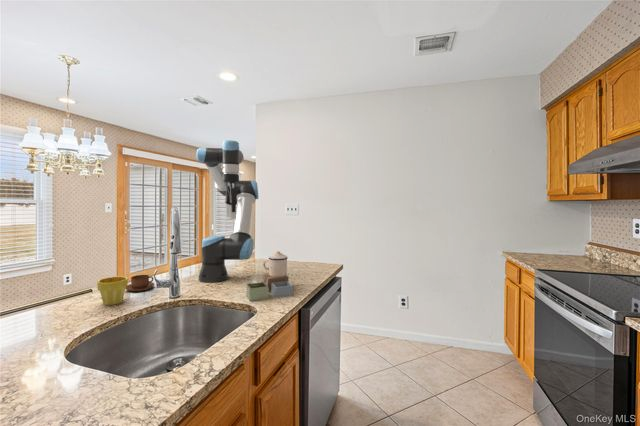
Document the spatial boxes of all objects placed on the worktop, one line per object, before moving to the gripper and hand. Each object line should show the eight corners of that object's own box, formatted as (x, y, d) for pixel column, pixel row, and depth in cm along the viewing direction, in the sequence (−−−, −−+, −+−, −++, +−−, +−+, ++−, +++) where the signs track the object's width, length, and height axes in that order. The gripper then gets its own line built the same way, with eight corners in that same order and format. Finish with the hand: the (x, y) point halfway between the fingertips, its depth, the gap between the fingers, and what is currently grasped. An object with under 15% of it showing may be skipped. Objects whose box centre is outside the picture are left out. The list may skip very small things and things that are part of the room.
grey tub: (271, 293, 139) (271, 282, 138) (287, 291, 142) (287, 281, 142) (275, 298, 131) (275, 287, 131) (292, 296, 134) (293, 285, 134)
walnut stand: (263, 287, 148) (263, 273, 147) (282, 285, 152) (282, 271, 151) (267, 293, 138) (267, 278, 138) (288, 291, 142) (288, 276, 142)
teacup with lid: (288, 272, 149) (289, 249, 149) (285, 277, 140) (285, 253, 140) (265, 272, 150) (265, 249, 150) (260, 276, 141) (260, 252, 141)
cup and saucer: (140, 284, 150) (140, 272, 150) (160, 286, 147) (160, 274, 147) (118, 292, 138) (118, 278, 138) (140, 294, 136) (140, 281, 135)
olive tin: (246, 297, 133) (246, 283, 133) (264, 295, 136) (264, 282, 136) (249, 302, 126) (249, 288, 125) (268, 300, 129) (268, 286, 129)
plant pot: (131, 302, 124) (130, 279, 124) (101, 308, 117) (100, 284, 116) (124, 296, 131) (123, 274, 131) (95, 302, 124) (94, 279, 123)
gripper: (219, 175, 152) (219, 216, 153) (226, 171, 129) (226, 220, 130) (234, 175, 155) (234, 216, 156) (243, 172, 132) (243, 220, 134)
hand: (231, 218), depth 143 cm, fingers open, 13 cm apart
